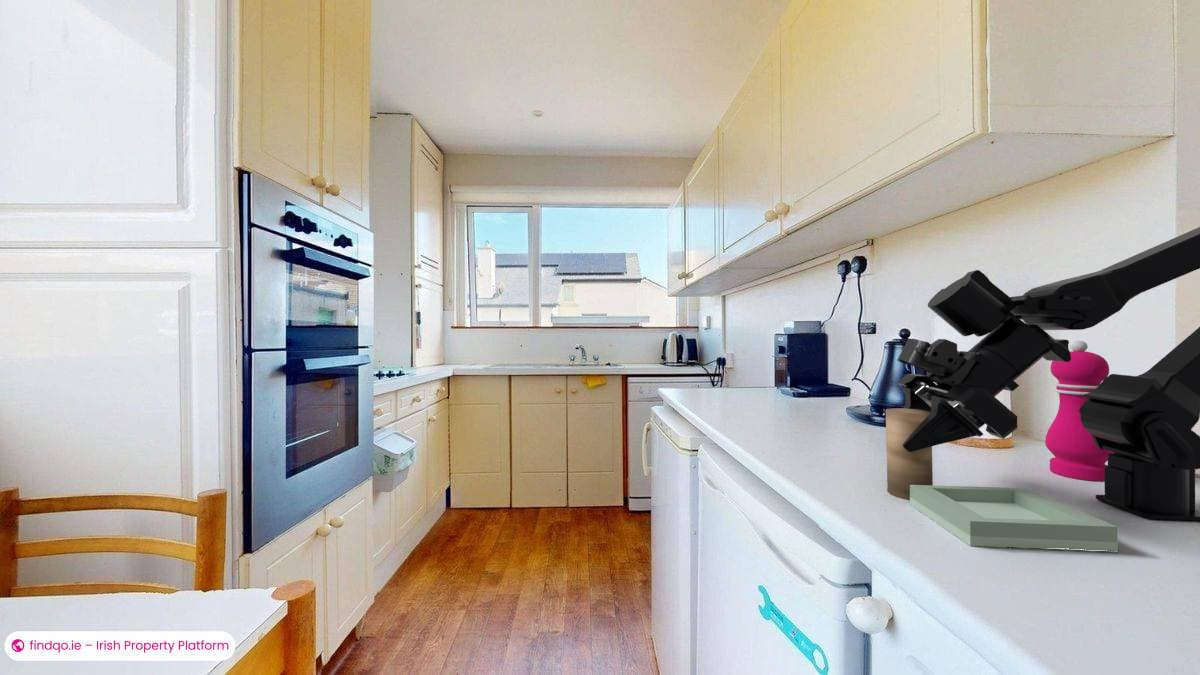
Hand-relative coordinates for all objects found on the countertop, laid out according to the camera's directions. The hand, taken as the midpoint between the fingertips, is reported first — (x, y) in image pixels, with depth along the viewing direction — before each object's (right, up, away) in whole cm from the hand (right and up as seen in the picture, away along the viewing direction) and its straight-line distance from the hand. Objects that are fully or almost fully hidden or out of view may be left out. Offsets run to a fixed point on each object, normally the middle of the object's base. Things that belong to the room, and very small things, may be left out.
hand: (897, 444), depth 60 cm
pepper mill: (+32, -6, +7) cm, 33 cm away
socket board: (+5, -7, -10) cm, 13 cm away
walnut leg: (+1, -7, 0) cm, 7 cm away
